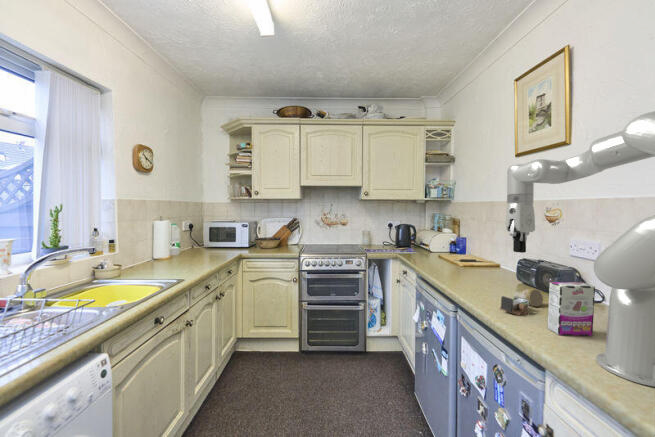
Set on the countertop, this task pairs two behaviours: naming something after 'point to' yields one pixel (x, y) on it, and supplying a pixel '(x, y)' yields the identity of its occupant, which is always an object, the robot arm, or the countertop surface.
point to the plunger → (512, 303)
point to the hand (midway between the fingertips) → (519, 251)
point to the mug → (531, 296)
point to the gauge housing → (520, 309)
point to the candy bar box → (571, 308)
